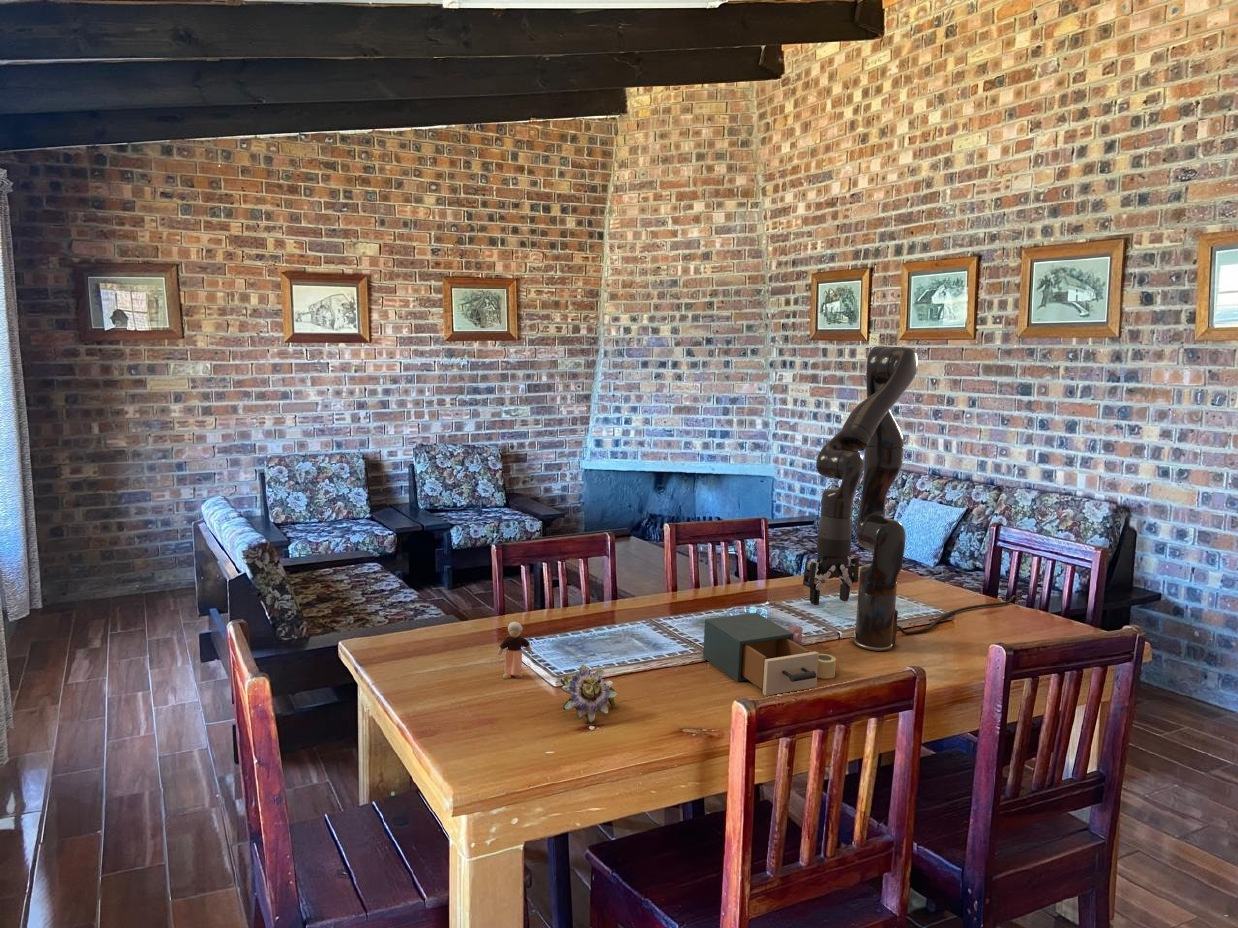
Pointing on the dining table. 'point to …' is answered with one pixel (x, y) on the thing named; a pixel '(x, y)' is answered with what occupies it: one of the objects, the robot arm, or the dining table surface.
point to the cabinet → (737, 639)
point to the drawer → (779, 666)
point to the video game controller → (797, 634)
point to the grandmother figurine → (513, 650)
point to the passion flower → (588, 693)
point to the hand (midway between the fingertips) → (829, 602)
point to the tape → (826, 666)
